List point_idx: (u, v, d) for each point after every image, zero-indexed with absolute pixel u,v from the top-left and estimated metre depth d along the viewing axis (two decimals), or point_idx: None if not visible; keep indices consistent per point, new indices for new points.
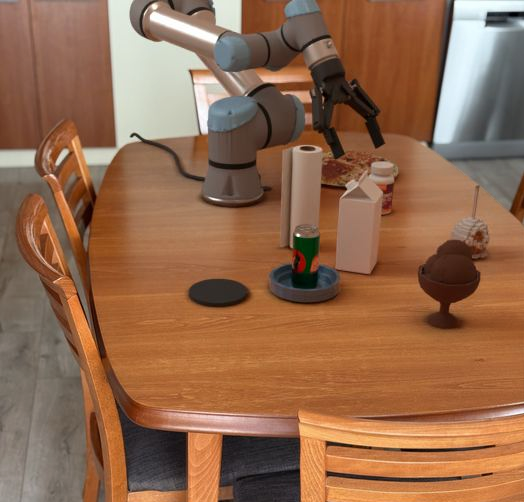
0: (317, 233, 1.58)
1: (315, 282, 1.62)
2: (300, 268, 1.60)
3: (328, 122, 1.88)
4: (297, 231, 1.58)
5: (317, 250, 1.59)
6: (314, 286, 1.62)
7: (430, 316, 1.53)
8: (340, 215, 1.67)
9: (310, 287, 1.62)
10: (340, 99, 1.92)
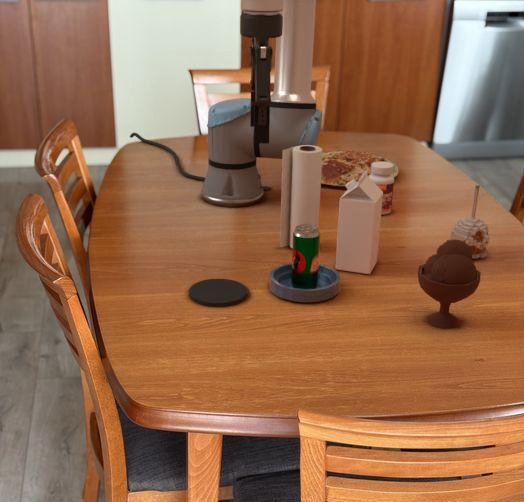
0: (317, 233, 1.58)
1: (315, 282, 1.62)
2: (300, 268, 1.60)
3: (251, 84, 1.63)
4: (297, 231, 1.58)
5: (317, 250, 1.59)
6: (314, 286, 1.62)
7: (430, 316, 1.53)
8: (340, 215, 1.67)
9: (310, 287, 1.62)
10: None
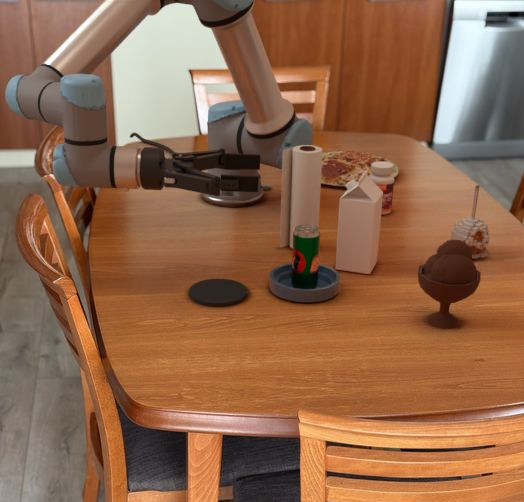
0: (317, 233, 1.58)
1: (315, 282, 1.62)
2: (300, 268, 1.60)
3: None
4: (297, 231, 1.58)
5: (317, 250, 1.59)
6: (314, 286, 1.62)
7: (430, 316, 1.53)
8: (340, 215, 1.67)
9: (310, 287, 1.62)
10: None
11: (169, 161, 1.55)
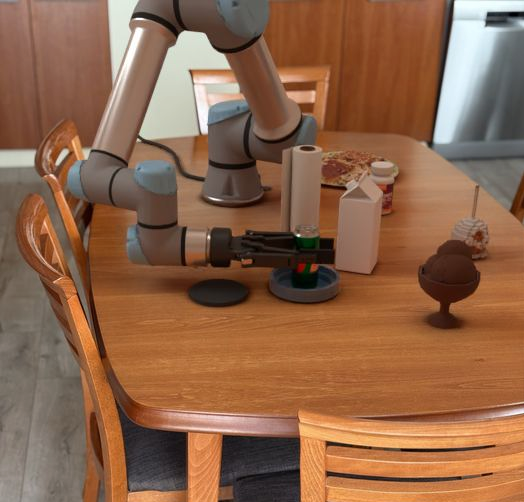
0: (317, 233, 1.58)
1: (315, 282, 1.62)
2: (300, 268, 1.60)
3: None
4: (297, 231, 1.58)
5: None
6: (314, 286, 1.62)
7: (430, 316, 1.53)
8: (340, 215, 1.67)
9: (310, 287, 1.62)
10: None
11: (236, 240, 1.62)
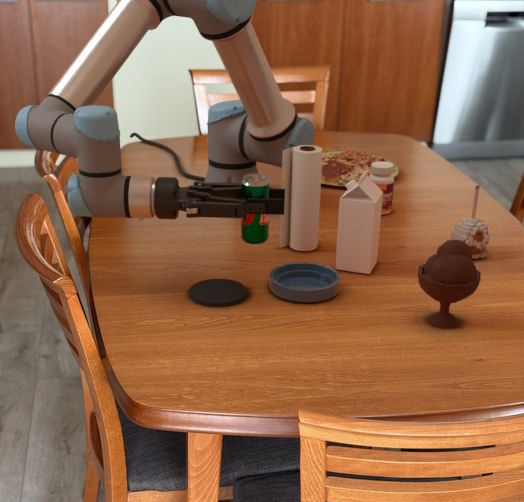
0: (266, 182, 1.52)
1: (265, 234, 1.56)
2: (249, 219, 1.54)
3: None
4: (245, 180, 1.51)
5: None
6: (264, 238, 1.56)
7: (430, 316, 1.53)
8: (340, 215, 1.67)
9: (260, 239, 1.55)
10: None
11: (183, 190, 1.55)
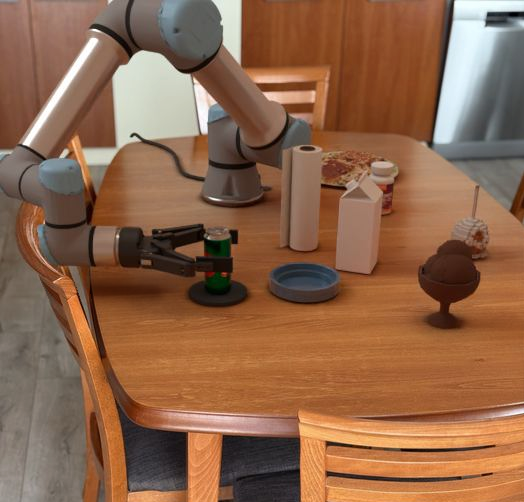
0: (227, 235, 1.55)
1: (228, 285, 1.59)
2: None
3: None
4: (207, 233, 1.55)
5: (228, 253, 1.56)
6: (227, 289, 1.59)
7: (430, 316, 1.53)
8: (340, 215, 1.67)
9: (222, 290, 1.59)
10: None
11: (147, 239, 1.59)
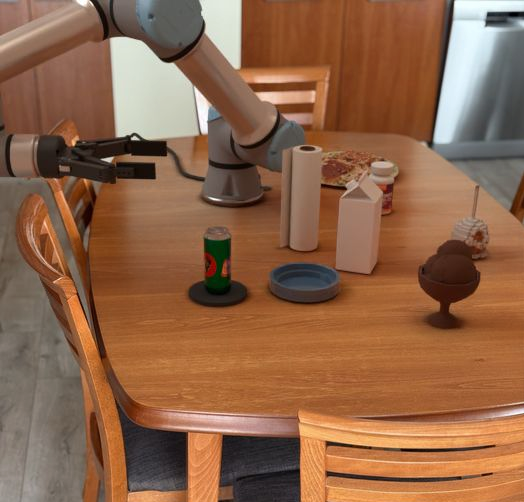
0: (227, 235, 1.55)
1: (228, 285, 1.59)
2: (211, 271, 1.57)
3: None
4: (207, 233, 1.55)
5: (228, 253, 1.56)
6: (227, 289, 1.59)
7: (430, 316, 1.53)
8: (340, 215, 1.67)
9: (222, 290, 1.59)
10: None
11: (69, 149, 1.51)
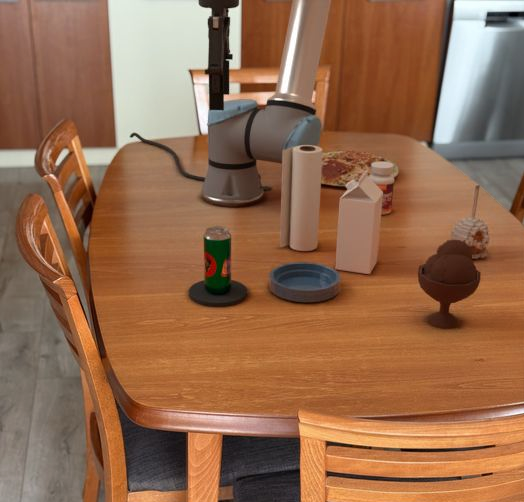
0: (227, 235, 1.55)
1: (228, 285, 1.59)
2: (211, 271, 1.57)
3: None
4: (207, 233, 1.55)
5: (228, 253, 1.56)
6: (227, 289, 1.59)
7: (430, 316, 1.53)
8: (340, 215, 1.67)
9: (222, 290, 1.59)
10: None
11: (225, 11, 1.60)
